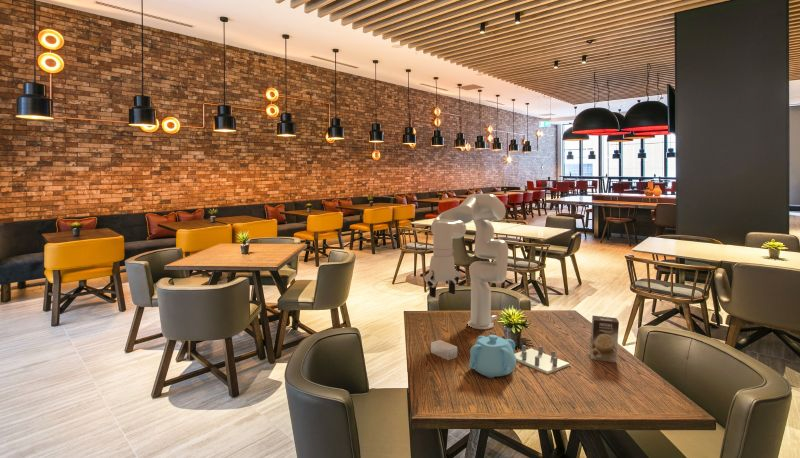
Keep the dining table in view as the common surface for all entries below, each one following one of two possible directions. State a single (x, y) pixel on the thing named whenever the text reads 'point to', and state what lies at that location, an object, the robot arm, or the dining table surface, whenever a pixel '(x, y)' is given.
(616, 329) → the coffee box
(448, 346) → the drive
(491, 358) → the decorative pot
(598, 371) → the dining table surface
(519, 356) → the pin tray
